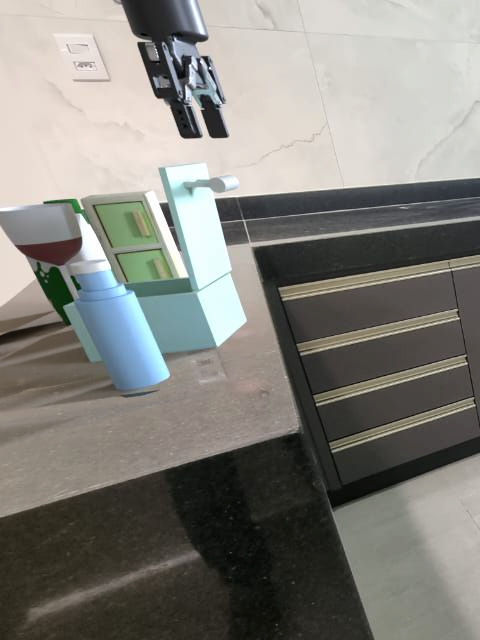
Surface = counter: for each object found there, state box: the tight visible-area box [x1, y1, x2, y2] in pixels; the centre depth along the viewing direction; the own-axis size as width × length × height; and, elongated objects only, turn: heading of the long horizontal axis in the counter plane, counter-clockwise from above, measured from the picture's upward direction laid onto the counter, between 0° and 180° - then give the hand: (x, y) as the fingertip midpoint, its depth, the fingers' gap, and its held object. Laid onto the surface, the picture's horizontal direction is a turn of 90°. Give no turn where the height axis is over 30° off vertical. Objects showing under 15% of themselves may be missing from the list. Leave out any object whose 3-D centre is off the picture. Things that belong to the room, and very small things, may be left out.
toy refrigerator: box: [79, 190, 189, 283], centre depth 87 cm, size 8×7×21 cm
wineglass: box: [0, 203, 82, 300], centre depth 83 cm, size 8×9×20 cm
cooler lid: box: [157, 162, 240, 290], centre depth 76 cm, size 16×12×6 cm
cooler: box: [63, 272, 248, 363], centre depth 78 cm, size 15×12×9 cm
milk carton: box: [25, 198, 118, 327], centre depth 89 cm, size 9×9×20 cm
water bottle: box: [70, 259, 171, 398], centre depth 63 cm, size 5×5×16 cm
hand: (207, 138), depth 71 cm, fingers open, 8 cm apart
